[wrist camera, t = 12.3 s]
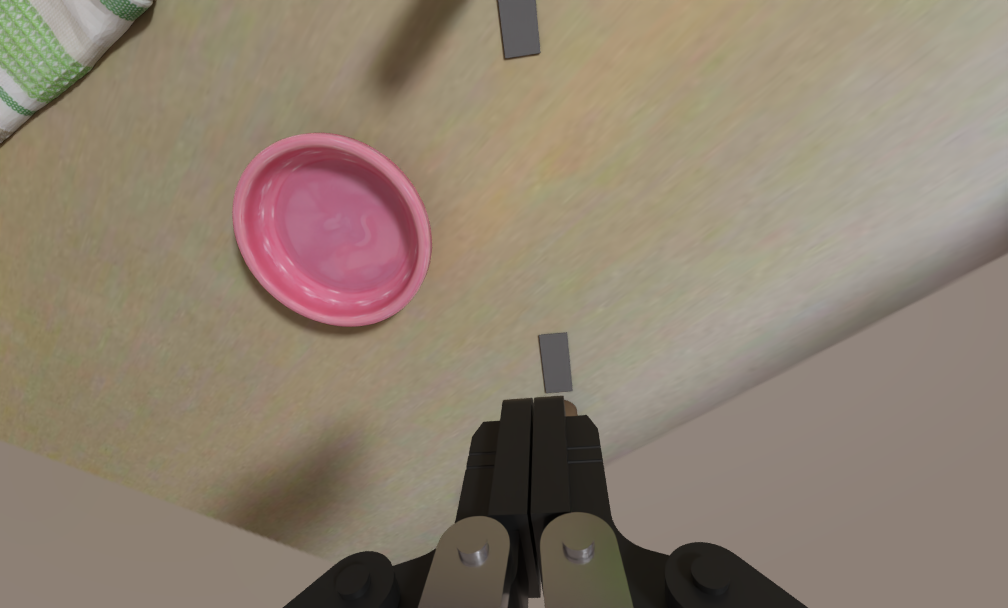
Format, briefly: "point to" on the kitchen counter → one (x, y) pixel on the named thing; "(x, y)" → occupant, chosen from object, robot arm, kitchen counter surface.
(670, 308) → the kitchen counter surface
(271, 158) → the pink shallow bowl
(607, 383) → the kitchen counter surface
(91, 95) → the kitchen counter surface
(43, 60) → the dish towel
